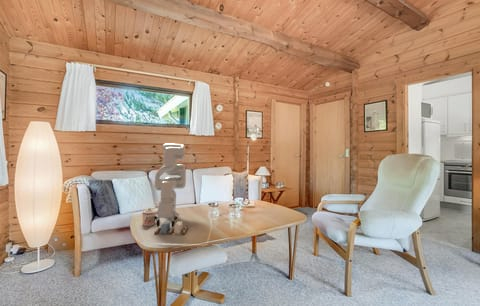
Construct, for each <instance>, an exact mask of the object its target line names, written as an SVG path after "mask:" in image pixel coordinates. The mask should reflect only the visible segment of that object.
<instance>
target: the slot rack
mask: <svg viewBox="0 0 480 306" xmlns="http://www.w3.org/2000/svg"><path fill="white" fill-rule="evenodd" d="M161 225H162V224H160V226H159V227H157V228H156V230H155V231H154V233H153V235H160V236H161V235H162V236H165V235H166V236H167V235H168V236H169V235H171V236H185V235H186V233H187V232H188V230H189V225H185V227H183V229H182V231H181V232H180V234H178V233H174V226H173V227H172V226H171V227H170V229H169V231H168V232H167V233H161Z"/></svg>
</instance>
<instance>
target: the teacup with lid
mask: <svg viewBox="0 0 480 306" xmlns="http://www.w3.org/2000/svg"><path fill="white" fill-rule="evenodd" d="M155 212H157V211H156V210H155V209H152V208H151V207H148V208H147V209H145V210H143V211H142V225H143V226H144V227H151V226H154V225H155V224H156V219H155V218H154V217H153V215H152V214H153V213H155ZM157 214H158V213H157ZM157 214H156V215H157Z"/></svg>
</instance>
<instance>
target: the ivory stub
mask: <svg viewBox="0 0 480 306" xmlns="http://www.w3.org/2000/svg"><path fill="white" fill-rule="evenodd" d="M183 226H184V222H183V220H182V221H179V220H178V221H177V222H176V223H175V225H174V233H178V234H180V232H181V231H182V229H183V228H184V227H183Z"/></svg>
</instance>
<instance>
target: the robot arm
mask: <svg viewBox="0 0 480 306" xmlns="http://www.w3.org/2000/svg"><path fill="white" fill-rule="evenodd" d="M161 150H162V152H163V163H162V166H161V167H160V168H159V169H158V170H157V172H156V173H155V178H154V190H156V191H160V196H159V197H160V201H159V202H158V208H157V211H156V212H155V213H153V214H152V215H153V217H154V218H155V219H156V220H155V222H156V223H155V224H156V227H157V228H158V227H159V226H160V225H161V221H160V219H171V228H172V227H173V226H174V225H175V224H176V223H175V222H176V220H178V217H179V215H180V213H178V212H177V207H176V206H177V192H176V191H175V190H176V189H180V190H181V189H184V188H185V187H186V178H187V177H186V176H187V175H186V174H187V168H186V165H185V164H183V163H178V159H179V160H182V159H184V158H185V154H186V147H185V145H184V144H183V143H164V144H162V146H161ZM164 174H166V175H167V177H165V178H161V179H160V177H161V176H162V175H164ZM157 213H158V214H157Z"/></svg>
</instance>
